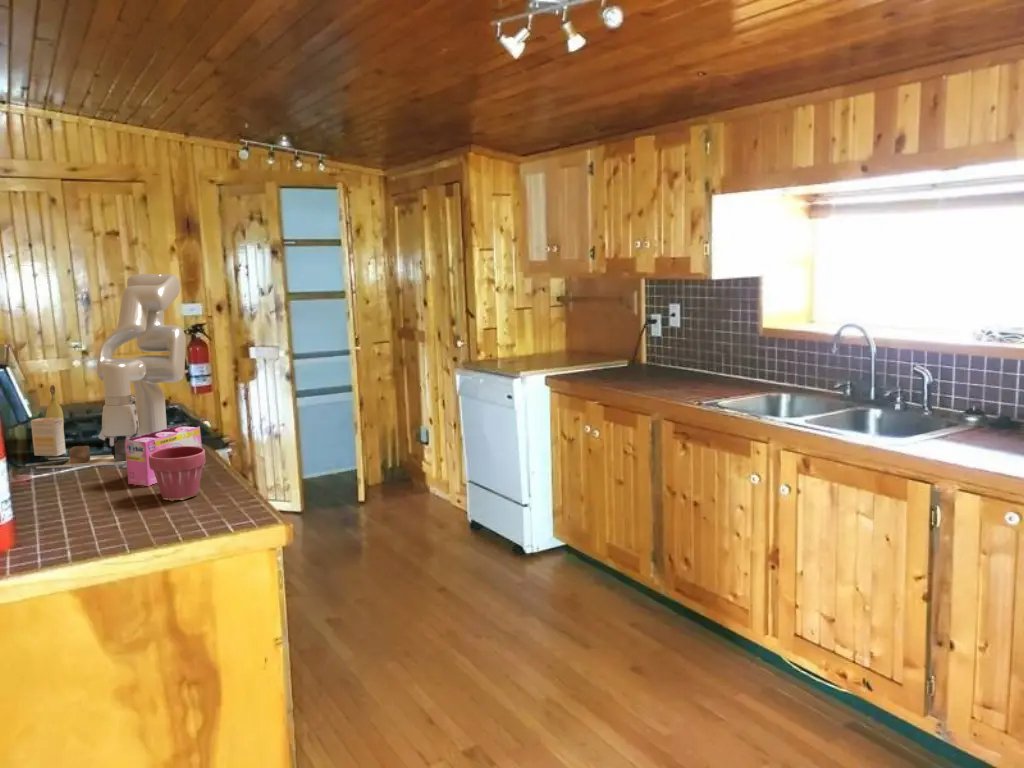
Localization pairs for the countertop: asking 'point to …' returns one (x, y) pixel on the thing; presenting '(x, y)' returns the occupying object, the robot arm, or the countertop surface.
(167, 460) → the plant pot
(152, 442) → the gum box
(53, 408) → the banana
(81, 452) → the block
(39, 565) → the countertop surface
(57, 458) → the rails
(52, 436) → the supplement box
